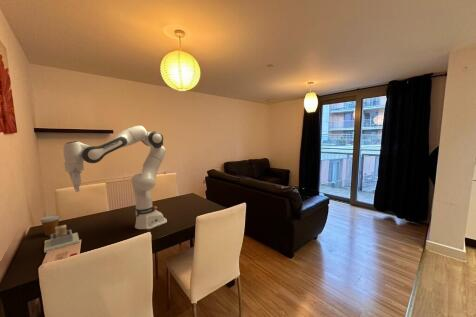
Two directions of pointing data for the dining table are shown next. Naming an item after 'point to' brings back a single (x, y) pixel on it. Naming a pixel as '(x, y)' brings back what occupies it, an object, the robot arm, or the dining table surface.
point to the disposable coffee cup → (50, 224)
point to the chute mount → (61, 241)
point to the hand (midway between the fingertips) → (76, 190)
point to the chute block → (61, 231)
